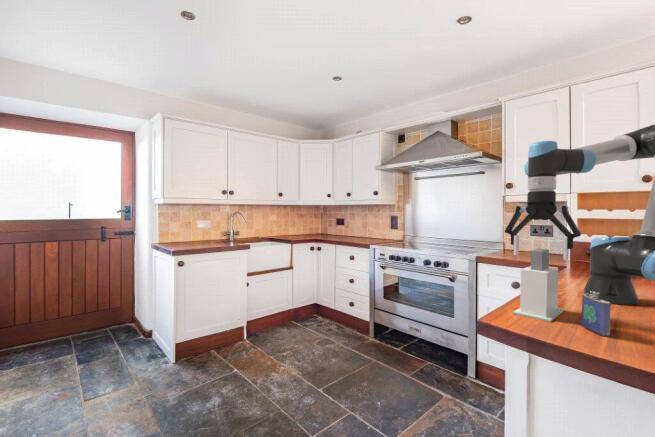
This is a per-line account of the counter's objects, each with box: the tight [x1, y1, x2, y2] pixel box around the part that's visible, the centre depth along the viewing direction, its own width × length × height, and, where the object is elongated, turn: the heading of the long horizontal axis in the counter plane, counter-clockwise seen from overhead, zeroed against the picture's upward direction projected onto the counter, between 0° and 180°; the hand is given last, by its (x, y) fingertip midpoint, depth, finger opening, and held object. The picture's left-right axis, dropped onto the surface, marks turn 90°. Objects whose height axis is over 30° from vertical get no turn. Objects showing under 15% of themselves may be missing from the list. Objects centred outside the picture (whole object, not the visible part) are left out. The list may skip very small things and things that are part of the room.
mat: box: [512, 307, 565, 323], centre depth 102 cm, size 10×16×1 cm, turn 132°
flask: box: [580, 291, 612, 338], centre depth 86 cm, size 9×3×11 cm, turn 172°
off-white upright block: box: [519, 248, 559, 317], centre depth 101 cm, size 7×13×20 cm, turn 132°
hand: (539, 257), depth 101 cm, fingers open, 13 cm apart
